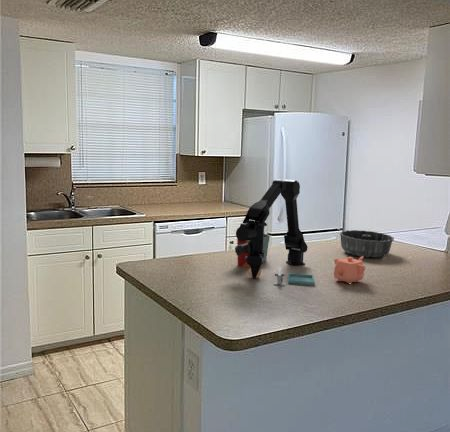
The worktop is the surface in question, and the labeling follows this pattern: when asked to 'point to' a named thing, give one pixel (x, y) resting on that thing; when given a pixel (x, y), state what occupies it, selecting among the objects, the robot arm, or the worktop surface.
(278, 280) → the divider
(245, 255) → the paper cup
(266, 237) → the grey tapered cup
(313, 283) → the coaster tray
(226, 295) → the worktop surface
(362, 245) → the bundt pan
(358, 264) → the pink piggy bank
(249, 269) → the ball
